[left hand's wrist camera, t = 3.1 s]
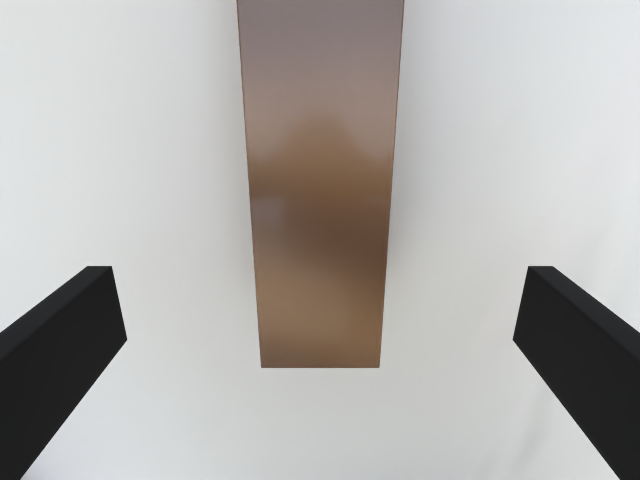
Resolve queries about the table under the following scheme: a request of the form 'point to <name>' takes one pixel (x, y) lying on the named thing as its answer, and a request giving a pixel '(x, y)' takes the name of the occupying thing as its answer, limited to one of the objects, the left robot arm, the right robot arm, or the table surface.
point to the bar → (320, 173)
